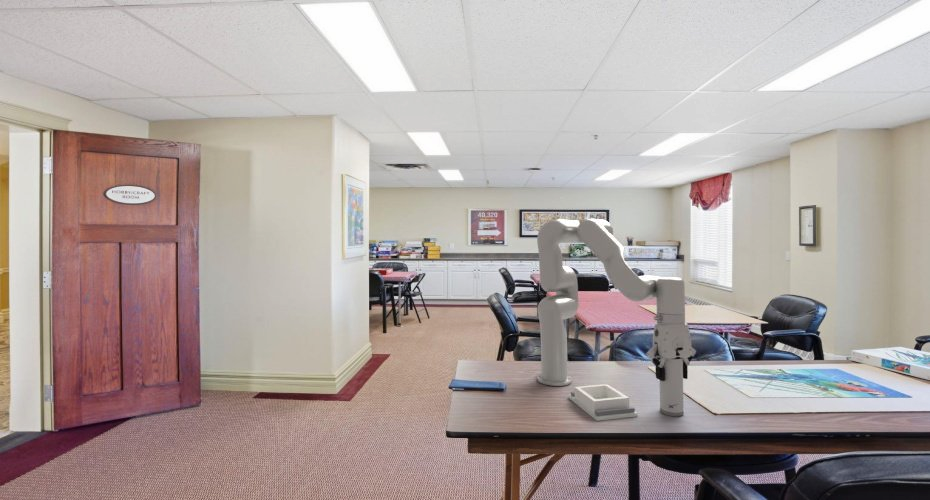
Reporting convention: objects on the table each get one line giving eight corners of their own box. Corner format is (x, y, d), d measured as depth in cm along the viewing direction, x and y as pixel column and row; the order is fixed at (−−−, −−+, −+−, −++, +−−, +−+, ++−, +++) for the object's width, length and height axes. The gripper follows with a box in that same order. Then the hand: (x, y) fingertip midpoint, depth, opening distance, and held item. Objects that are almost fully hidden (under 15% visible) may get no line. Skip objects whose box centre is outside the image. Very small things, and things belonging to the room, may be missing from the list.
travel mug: (675, 418, 115) (674, 349, 115) (655, 410, 121) (654, 344, 121) (689, 414, 118) (688, 346, 118) (668, 406, 124) (667, 341, 124)
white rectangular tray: (568, 397, 133) (568, 384, 133) (604, 394, 135) (604, 381, 135) (596, 420, 115) (596, 405, 115) (637, 416, 118) (637, 400, 117)
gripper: (653, 322, 114) (654, 385, 114) (705, 319, 118) (706, 380, 118) (636, 318, 122) (637, 377, 122) (686, 315, 125) (687, 372, 125)
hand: (671, 378), depth 120 cm, fingers open, 6 cm apart
